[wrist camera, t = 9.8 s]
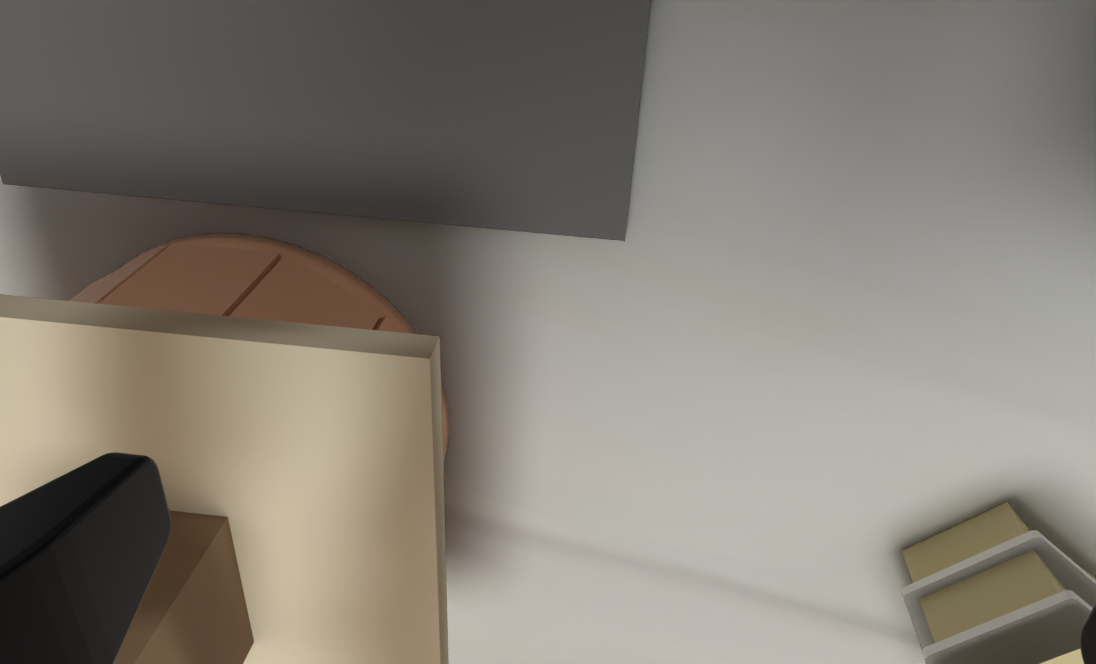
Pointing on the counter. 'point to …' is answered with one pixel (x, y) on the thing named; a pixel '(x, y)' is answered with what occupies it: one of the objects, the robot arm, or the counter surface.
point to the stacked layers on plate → (996, 594)
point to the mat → (333, 106)
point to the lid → (249, 473)
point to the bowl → (250, 287)
